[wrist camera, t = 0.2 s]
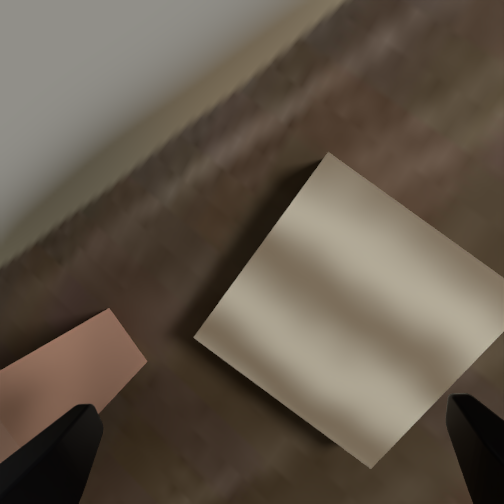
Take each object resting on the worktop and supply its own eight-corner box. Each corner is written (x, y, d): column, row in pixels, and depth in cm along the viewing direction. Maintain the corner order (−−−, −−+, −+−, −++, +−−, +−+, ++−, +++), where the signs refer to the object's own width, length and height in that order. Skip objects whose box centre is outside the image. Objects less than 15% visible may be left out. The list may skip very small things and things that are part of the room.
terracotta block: (147, 361, 26) (41, 475, 15) (99, 391, 27) (-32, 518, 16) (109, 308, 26) (-27, 385, 15) (62, 340, 27) (-96, 435, 16)
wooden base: (362, 436, 25) (370, 468, 22) (205, 321, 25) (193, 337, 22) (502, 286, 22) (534, 300, 19) (324, 158, 22) (328, 152, 19)
